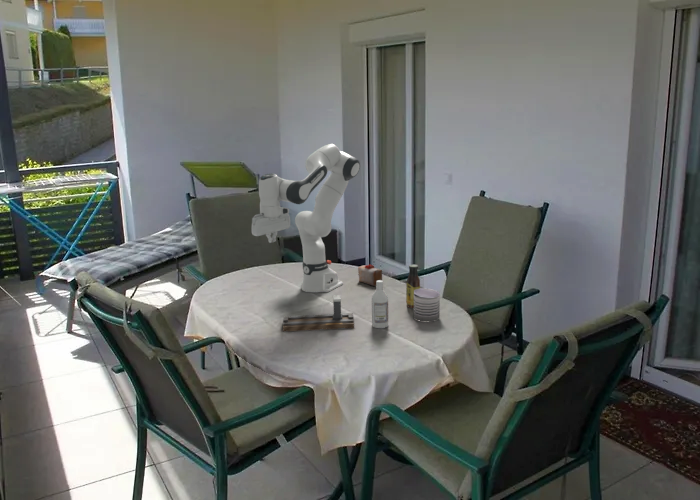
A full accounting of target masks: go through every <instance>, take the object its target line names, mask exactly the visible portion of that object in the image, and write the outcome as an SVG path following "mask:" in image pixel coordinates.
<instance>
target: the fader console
mask: <svg viewBox="0 0 700 500" xmlns="http://www.w3.org/2000/svg"><path fill="white" fill-rule="evenodd" d="M341 314H342V319H340V320H333V315H334V313H332V314H331V313H330V314H329V313H327V314H305V315H304V314H303V315H287V316H286V315H284V316H283V317H282V318H283V319H282V329H283V330H282V332H298V331H317V330H319V331H321V330H320V329H324V330H339V329H338V328H345V329H355V320H354V313H353V312H352V313H351V312H350V313H341Z"/></svg>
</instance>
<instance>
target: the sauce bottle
mask: <svg viewBox="0 0 700 500" xmlns="http://www.w3.org/2000/svg"><path fill="white" fill-rule="evenodd" d="M408 270H409V273H408V276H407V278H406V287H405V288H406V290H405V291H406V295H405V298H406V299H405V301H406V307H407V308H409V309H414V290H416V289H420V288H421V279H420V276H419V275H418V274H419V273H418V270H419V265H418V264H409V265H408Z"/></svg>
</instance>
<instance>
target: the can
mask: <svg viewBox="0 0 700 500" xmlns="http://www.w3.org/2000/svg"><path fill="white" fill-rule="evenodd" d="M440 296H441V295H440V291H438V290H435V289H432V288H423V287H420V289H416V290H414V308H413V319H414V320H415V319H417V320H420V321H434V320H437V319H438V318H439V319H440V316H441V315H440V314H441V313H440V312H441V311H440V310H441V309H440V305H441V303H440V300H441V297H440ZM439 319H438V320H439ZM417 320H416V321H417ZM438 320H437V321H438ZM420 321H419V322H420ZM434 322H435V321H434Z"/></svg>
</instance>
